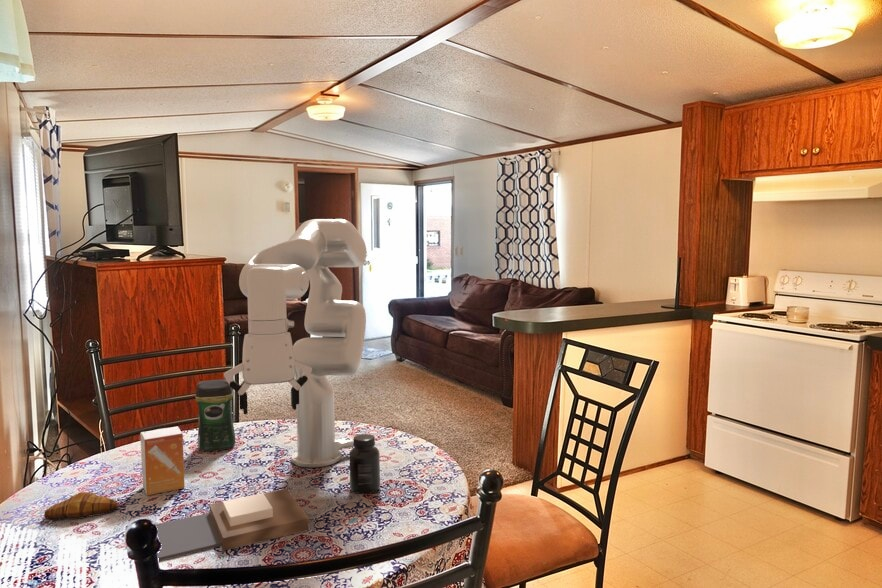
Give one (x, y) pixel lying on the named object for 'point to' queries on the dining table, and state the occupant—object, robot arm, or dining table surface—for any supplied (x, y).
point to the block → (247, 509)
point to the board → (262, 522)
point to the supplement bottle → (364, 465)
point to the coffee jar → (215, 415)
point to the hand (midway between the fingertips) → (269, 410)
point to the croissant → (81, 507)
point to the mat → (187, 536)
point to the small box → (162, 460)
